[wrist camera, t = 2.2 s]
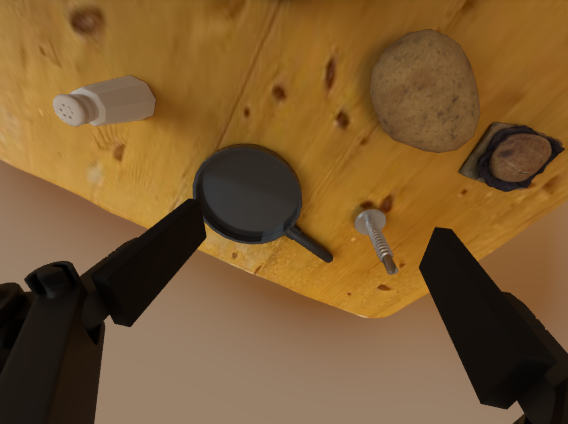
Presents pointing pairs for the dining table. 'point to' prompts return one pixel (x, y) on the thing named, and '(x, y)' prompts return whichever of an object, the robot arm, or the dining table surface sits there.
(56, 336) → the robot arm
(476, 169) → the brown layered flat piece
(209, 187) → the pan
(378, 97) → the potato
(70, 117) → the salt shaker
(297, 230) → the pan handle
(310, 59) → the dining table surface
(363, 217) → the screw
